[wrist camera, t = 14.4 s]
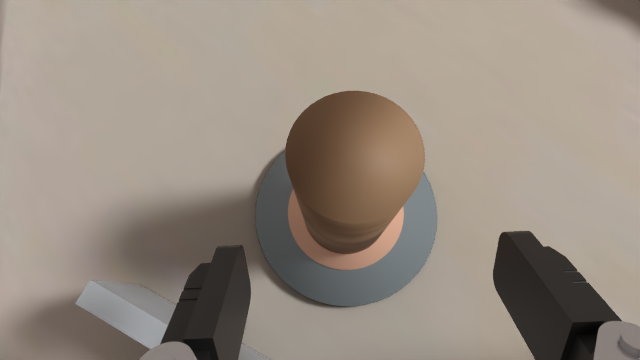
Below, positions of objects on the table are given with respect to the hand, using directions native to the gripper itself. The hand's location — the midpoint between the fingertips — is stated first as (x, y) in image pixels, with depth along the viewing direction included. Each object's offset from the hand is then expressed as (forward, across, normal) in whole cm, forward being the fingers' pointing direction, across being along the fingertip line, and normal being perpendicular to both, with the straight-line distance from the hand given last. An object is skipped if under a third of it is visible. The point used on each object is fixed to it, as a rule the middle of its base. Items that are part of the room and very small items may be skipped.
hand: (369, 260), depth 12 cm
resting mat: (+11, 0, +5) cm, 12 cm away
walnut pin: (+10, 0, +5) cm, 11 cm away
